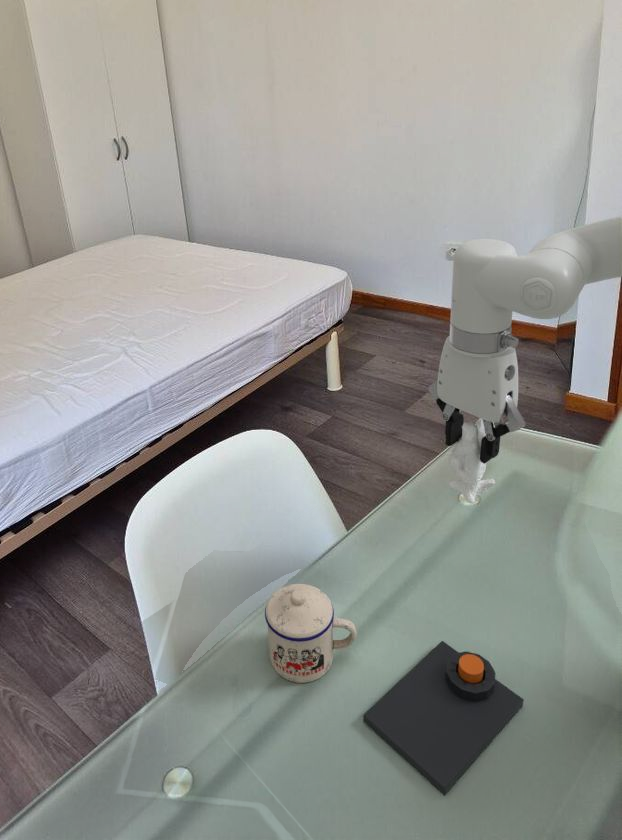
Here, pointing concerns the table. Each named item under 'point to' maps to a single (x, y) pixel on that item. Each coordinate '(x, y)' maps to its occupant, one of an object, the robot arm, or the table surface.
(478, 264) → the robot arm
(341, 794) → the table surface
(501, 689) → the black push button board
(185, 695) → the table surface
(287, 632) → the teacup with lid
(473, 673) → the button
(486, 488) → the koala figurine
